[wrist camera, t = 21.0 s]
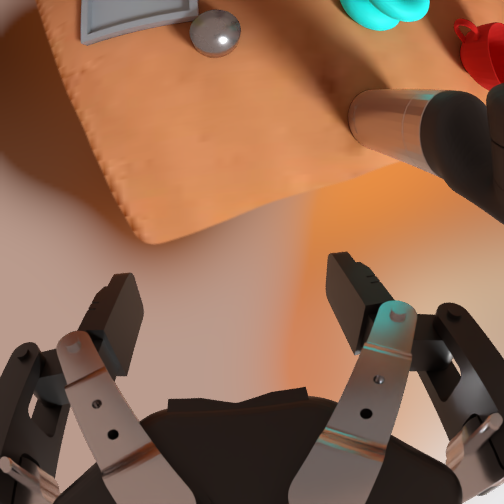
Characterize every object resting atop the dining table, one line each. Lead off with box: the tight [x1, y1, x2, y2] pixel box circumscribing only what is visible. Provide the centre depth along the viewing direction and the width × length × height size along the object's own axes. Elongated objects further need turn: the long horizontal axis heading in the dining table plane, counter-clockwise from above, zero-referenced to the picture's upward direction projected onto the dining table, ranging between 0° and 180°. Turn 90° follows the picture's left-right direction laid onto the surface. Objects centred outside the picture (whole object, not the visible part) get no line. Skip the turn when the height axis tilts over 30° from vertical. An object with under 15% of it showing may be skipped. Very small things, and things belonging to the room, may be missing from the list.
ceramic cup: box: [454, 19, 504, 91], centre depth 27 cm, size 13×17×10 cm
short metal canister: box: [190, 10, 241, 58], centre depth 29 cm, size 6×6×4 cm
